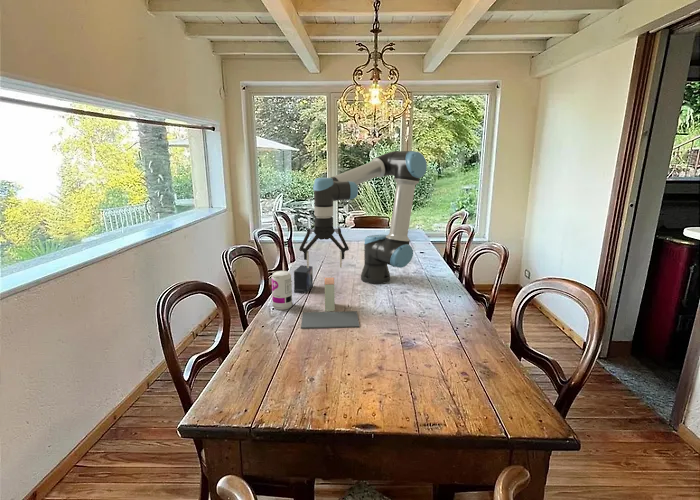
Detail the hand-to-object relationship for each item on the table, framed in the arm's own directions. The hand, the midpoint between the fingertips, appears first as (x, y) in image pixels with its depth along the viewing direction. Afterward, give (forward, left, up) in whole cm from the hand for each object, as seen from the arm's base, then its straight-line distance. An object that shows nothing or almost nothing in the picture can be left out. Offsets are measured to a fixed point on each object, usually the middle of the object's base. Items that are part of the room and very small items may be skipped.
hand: (324, 267), depth 168 cm
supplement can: (+18, 0, -18) cm, 25 cm away
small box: (+10, -21, -18) cm, 29 cm away
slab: (-2, +2, -18) cm, 18 cm away
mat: (-2, +15, -17) cm, 23 cm away
